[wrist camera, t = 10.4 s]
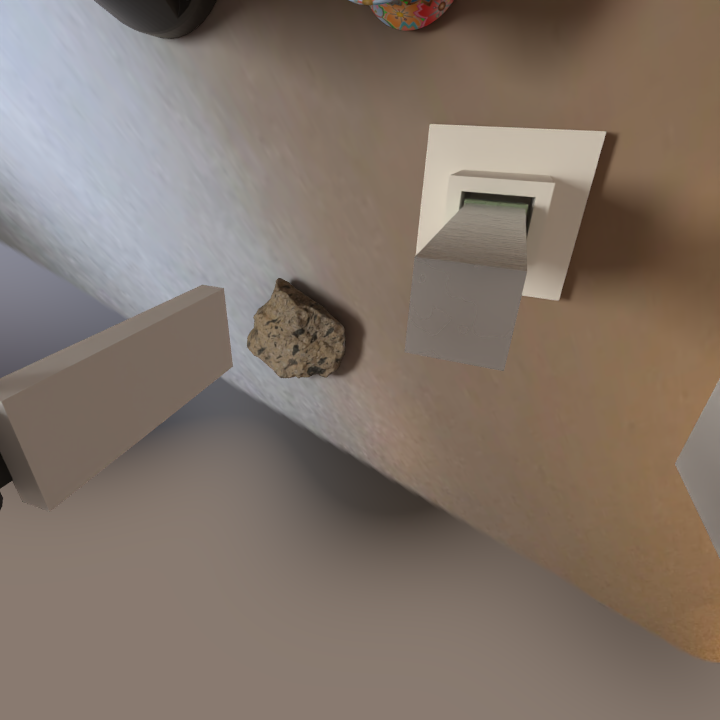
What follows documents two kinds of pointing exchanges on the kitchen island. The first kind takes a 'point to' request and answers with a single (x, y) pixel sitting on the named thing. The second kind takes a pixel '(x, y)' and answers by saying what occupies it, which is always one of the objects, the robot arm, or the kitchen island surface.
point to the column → (470, 285)
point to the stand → (514, 188)
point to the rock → (296, 335)
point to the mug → (407, 12)
